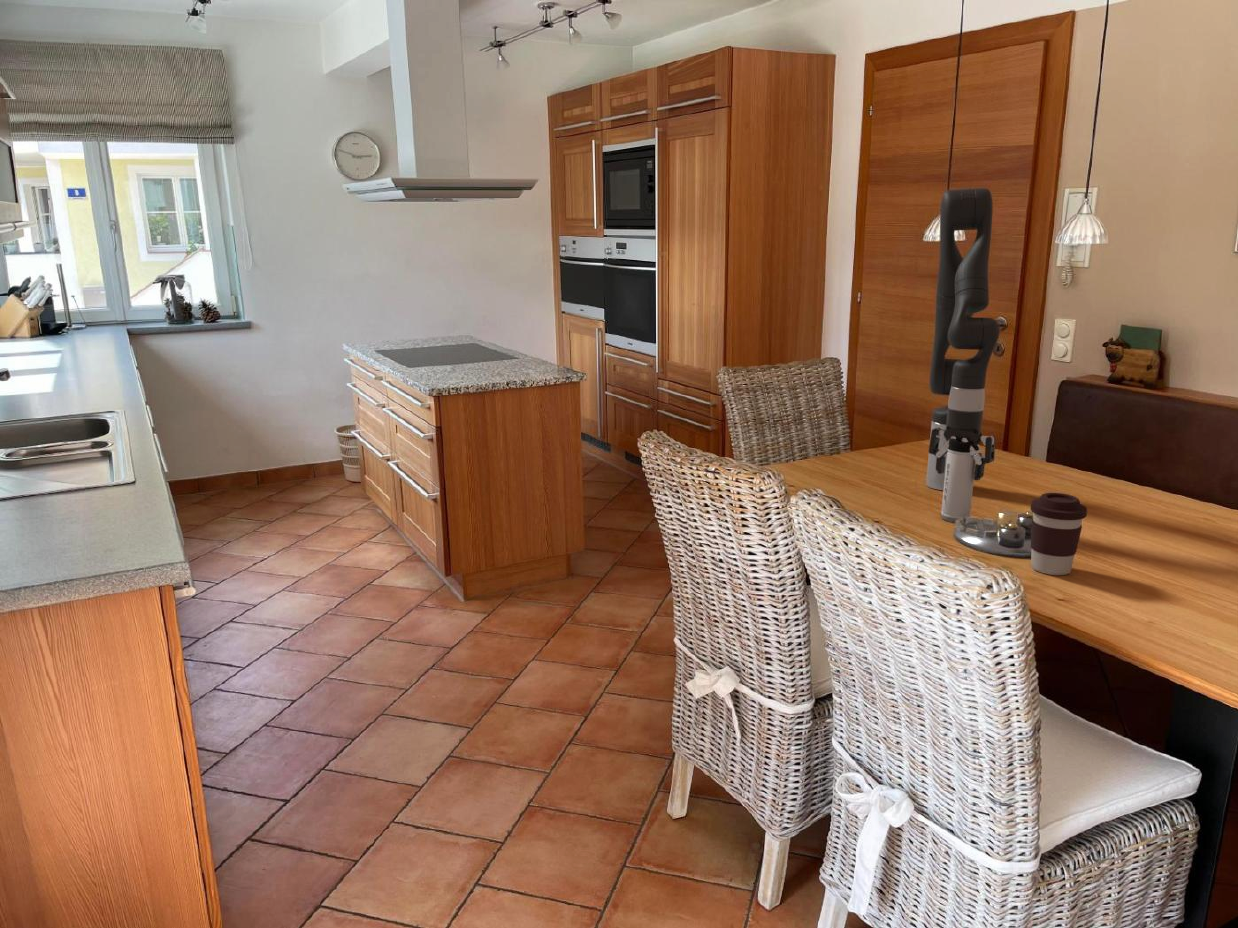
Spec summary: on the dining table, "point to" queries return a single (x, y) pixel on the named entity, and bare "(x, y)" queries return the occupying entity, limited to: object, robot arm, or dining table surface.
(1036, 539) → the coffee cup
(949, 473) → the travel mug
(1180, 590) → the dining table surface
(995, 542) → the carrier plate
